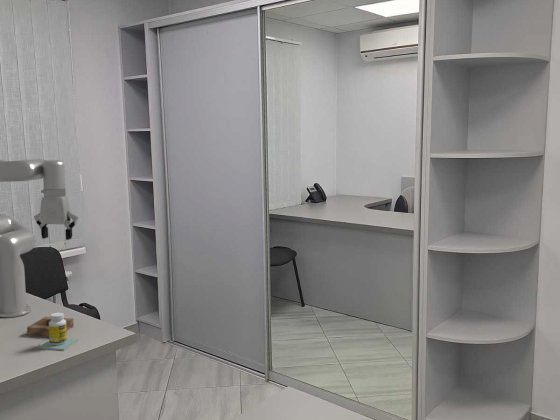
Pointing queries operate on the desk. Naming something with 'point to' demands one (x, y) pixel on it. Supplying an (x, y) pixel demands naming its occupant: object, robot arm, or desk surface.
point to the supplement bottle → (57, 329)
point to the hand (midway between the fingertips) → (57, 238)
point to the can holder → (45, 327)
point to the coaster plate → (58, 347)
